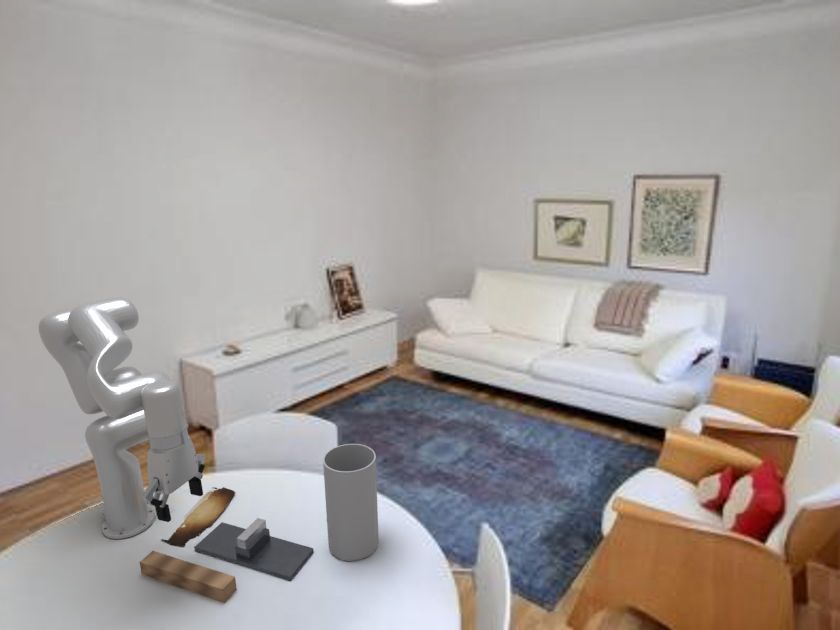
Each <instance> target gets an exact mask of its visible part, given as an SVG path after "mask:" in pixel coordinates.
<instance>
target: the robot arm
mask: <svg viewBox="0 0 840 630" xmlns="http://www.w3.org/2000/svg"><path fill="white" fill-rule="evenodd" d="M138 323H139V312H138V309H137V308H136V306H135V305H134V304H133V303H132V301H130V300H129V299H128V298H125V297H123V296H118V297H111V298H107V299H101V300H96V301H92V302H86V303H84V304H80V305H78V306H75V307H72V308H71V307H70V308H65V309H62V310H61V309H60V310H57V311H54V312H52V313H49V314H47V315H45V316H44V317H42V318H41V319H40V321H39V323H38V334H39V337H40V339H41V342H42V343H43V346H44V348H45V349H46V350H47V352H48V353H49V355H50V356H51V357H52V358H53V359H54V360H55V361H56V362H57V363H58V364H59V366H60V367H61V369H62V371H63V372H64V374H65V377H66V379H67V382H68V384H69V386H70V389H71V390H72V394H73V396H74V398H75V400H76V402H77V404H78V406H79V408H80V410H81V411H82V412H83V413H84V414H86V415H96V414H100V413H104V414H105V416H102V417H100V418H98V419H95V420H94V421H92V422H91V423H90V424H88V426H87V427H86V429H85V432H84V436H85V442H86V444H87V446H88V448H89V450H90V453H91V456H92V459H93V462H94V464H95V469H96V473H97V478H98V482H99V488H100V491H101V492H100V493H101V497H102V502H103V505H102V507H100V509H99V511H98V512H99V514H102V515H104V518H105V520H104V521H103V523H102V525H101V531H102V534H103V536H105V537H106V538H108V539H113V540H121V539H126V538H132V537H133V536H136V535H138V534H140V533H142V532H144V531H145V530H147V529H149V527H151V526H152V525H153V523H154V522H155V518H156V517H157V520H159V521H162V522H166V523H170V522H171V521H172V516H171V511H170V506H169V504H168V503H167V502H168V499H169V496H170V495H172V494H173V493H174V492H175V491H177V490H178V489H179V488H181V487H182V486H184V485H185V484H186V483H188V488H189V492H190V495H192V496H196V497H197V496H198V497H203V496H204V491H203V484H202V479H203V477H204V474H203V472H204V469H205V462H206V454H202V453H198V454H197V452H196V449H195V446H194V443H193V440H192V439H191V436H190V435H189V432H188V428H189V425H190V424H189V423H188V422H187V420H186V416H185V415H186V414H185V408H184V407H185V406H184V402H183V397H182V396H183V395H182V391H181V390H182V389H181V386H180V385H179V384H178V382H177V381H175V380H172V379H171V378H170V376H168V375H167V374H166V373H165V372H164V371H160V370H154V371H150V372H149V371H148V372H147V373H144V374H142V373H141V371H140V370H138V369H137V368H136V367H134V366H123V367H119V368H118V366H120V365H121V364H122V363H123V362H124V361H125V360H126V359H127V358H128V357H129V356H130V354H131V353H132V351H133V343H132V340H131V339H130V338H129V336H128V335H127V334H126V332H124V331H129V330H133V329H134V328H136V326H137V325H138ZM79 342H80V343H79ZM146 441H149V447H150V448H149V449H148V450H147V461H146V463H147V477H148V484H149V485H148V486H147V487H146V489H145V488H144V483H143V478H142V472H141V467H140V466H141V465H140V461H139V458H137V456H135V455H134V454H133V453H131V452H130V451H128V449H129V448H131V447H134V446H135V445H138V444H141V443H143V442H146ZM161 495H162V497H161ZM160 498H161V499H160ZM148 505H150V506H154V507H155V509H154V508H152V507H150V506H148Z"/></svg>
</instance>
